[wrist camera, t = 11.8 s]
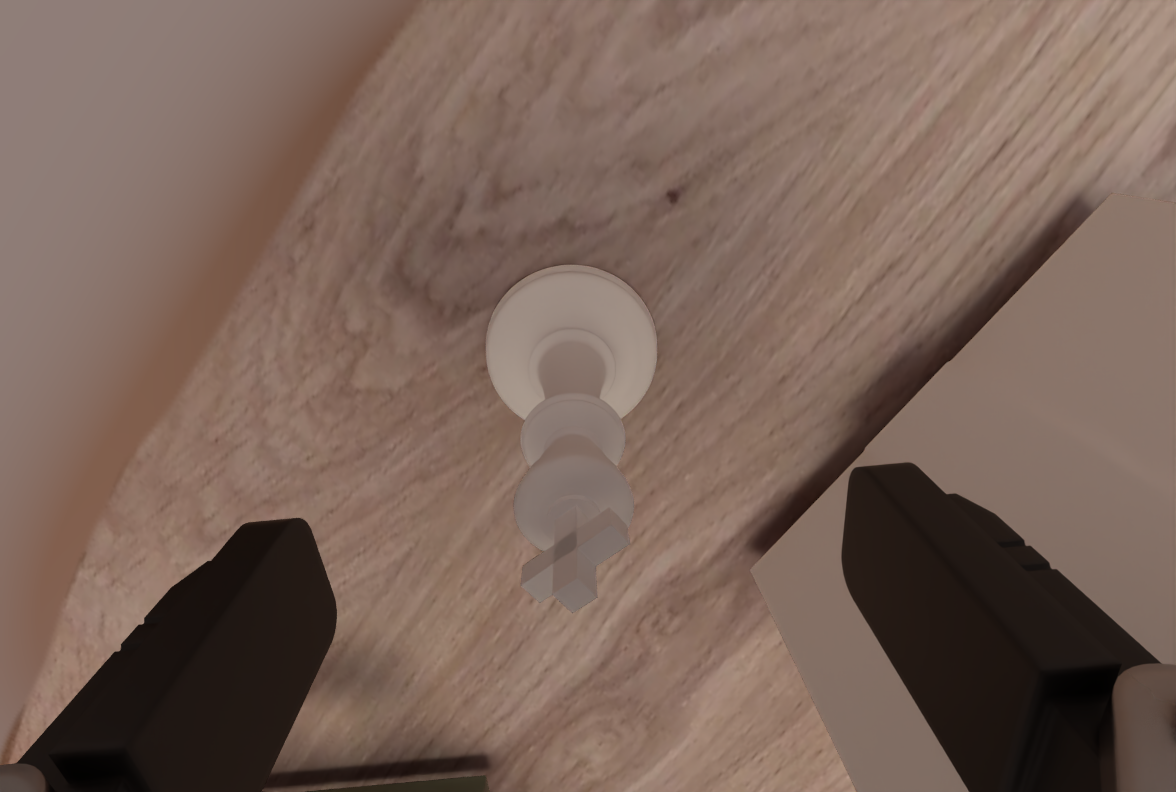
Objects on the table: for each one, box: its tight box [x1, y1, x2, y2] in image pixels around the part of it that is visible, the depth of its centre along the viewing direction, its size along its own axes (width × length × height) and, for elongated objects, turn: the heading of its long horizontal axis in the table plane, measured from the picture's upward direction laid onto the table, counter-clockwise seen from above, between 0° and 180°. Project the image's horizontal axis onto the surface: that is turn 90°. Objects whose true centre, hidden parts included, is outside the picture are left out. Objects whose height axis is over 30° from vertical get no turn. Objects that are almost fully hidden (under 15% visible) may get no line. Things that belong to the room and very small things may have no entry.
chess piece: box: [486, 265, 657, 613], centre depth 13 cm, size 5×5×10 cm
